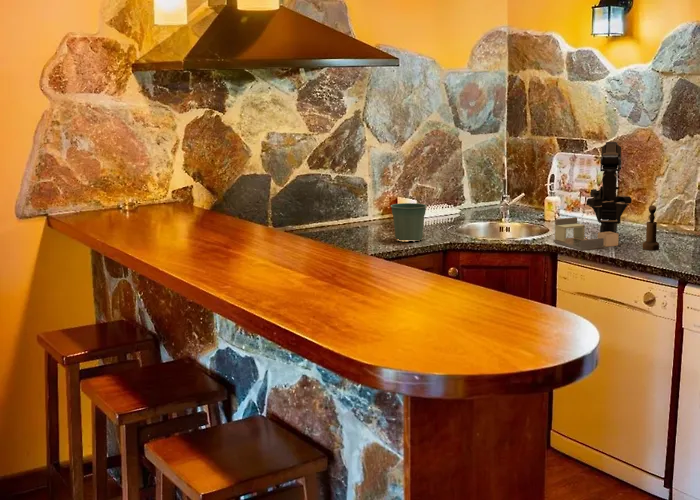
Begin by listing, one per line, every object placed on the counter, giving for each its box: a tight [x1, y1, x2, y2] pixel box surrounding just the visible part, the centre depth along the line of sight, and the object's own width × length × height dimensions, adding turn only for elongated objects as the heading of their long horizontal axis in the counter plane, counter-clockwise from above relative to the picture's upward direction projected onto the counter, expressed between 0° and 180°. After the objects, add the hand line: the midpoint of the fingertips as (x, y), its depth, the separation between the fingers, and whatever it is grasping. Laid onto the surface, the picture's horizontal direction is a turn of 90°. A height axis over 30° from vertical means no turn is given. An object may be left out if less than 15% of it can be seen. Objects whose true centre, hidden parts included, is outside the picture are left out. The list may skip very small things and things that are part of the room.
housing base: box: [553, 236, 604, 251], centre depth 348 cm, size 11×20×4 cm, turn 19°
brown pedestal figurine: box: [642, 205, 660, 251], centre depth 334 cm, size 7×6×18 cm
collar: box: [597, 231, 619, 248], centre depth 347 cm, size 6×6×5 cm
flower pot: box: [390, 202, 428, 240], centre depth 368 cm, size 16×16×16 cm
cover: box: [554, 217, 586, 242], centre depth 353 cm, size 10×7×9 cm
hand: (608, 221), depth 345 cm, fingers open, 9 cm apart
